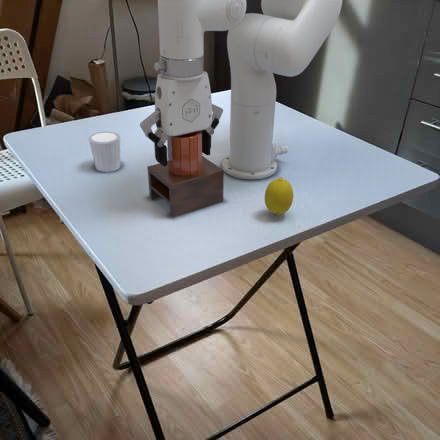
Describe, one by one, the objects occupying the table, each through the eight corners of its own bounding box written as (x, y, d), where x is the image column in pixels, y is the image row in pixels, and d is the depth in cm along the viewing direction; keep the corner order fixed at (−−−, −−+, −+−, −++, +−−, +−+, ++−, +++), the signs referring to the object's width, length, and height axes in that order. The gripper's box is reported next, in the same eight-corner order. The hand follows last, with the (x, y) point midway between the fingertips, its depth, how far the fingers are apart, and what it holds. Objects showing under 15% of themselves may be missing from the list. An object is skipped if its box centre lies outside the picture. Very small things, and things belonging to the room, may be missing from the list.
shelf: (198, 183, 113) (198, 152, 109) (223, 201, 107) (223, 170, 103) (149, 197, 108) (147, 166, 103) (172, 217, 102) (171, 185, 97)
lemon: (271, 224, 100) (274, 186, 95) (258, 211, 104) (261, 174, 99) (296, 218, 102) (300, 181, 97) (282, 205, 106) (286, 169, 101)
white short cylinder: (117, 174, 116) (113, 144, 111) (88, 171, 117) (83, 141, 112) (127, 161, 121) (124, 132, 117) (99, 158, 122) (95, 129, 118)
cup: (190, 158, 107) (190, 122, 102) (208, 170, 102) (208, 133, 98) (162, 166, 104) (160, 129, 99) (179, 178, 99) (178, 141, 95)
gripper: (148, 78, 85) (153, 175, 95) (234, 64, 92) (231, 155, 103) (127, 67, 89) (135, 161, 100) (211, 54, 97) (210, 143, 108)
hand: (183, 158), depth 101 cm, fingers open, 9 cm apart
